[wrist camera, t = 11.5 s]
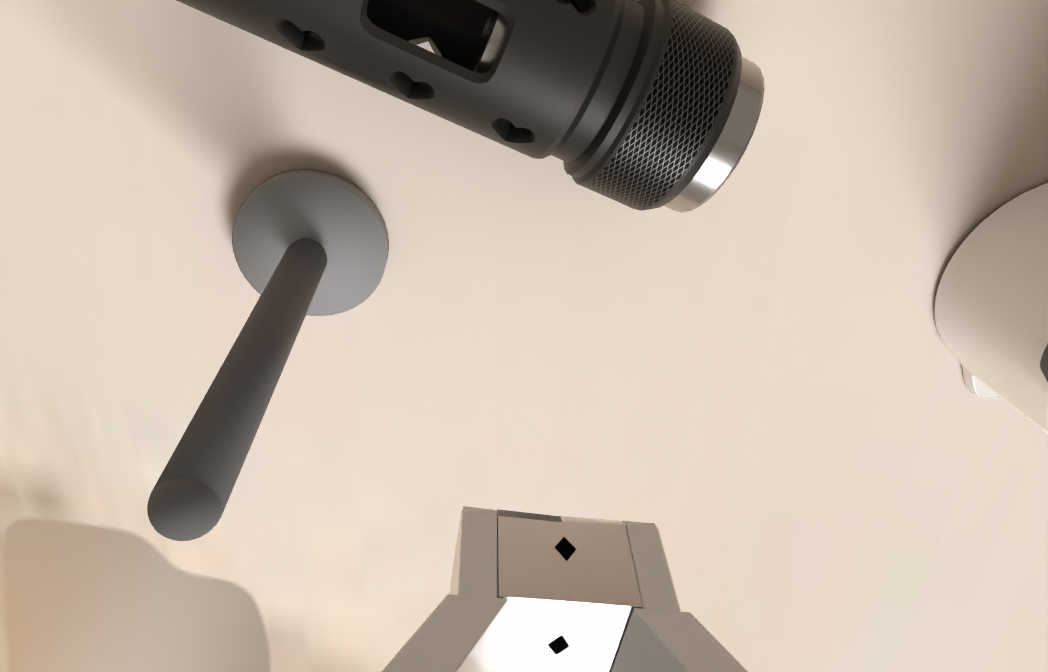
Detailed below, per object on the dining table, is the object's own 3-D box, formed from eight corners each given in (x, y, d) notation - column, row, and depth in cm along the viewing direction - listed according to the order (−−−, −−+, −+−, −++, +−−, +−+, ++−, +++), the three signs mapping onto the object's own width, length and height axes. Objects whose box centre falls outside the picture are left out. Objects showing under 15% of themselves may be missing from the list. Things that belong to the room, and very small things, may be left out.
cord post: (392, 179, 42) (312, 435, 22) (385, 311, 47) (314, 625, 26) (235, 160, 41) (-5, 410, 21) (243, 297, 46) (53, 613, 25)
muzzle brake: (213, -246, 32) (112, -305, 23) (731, 32, 39) (806, 69, 30) (170, -29, 36) (71, -9, 27) (645, 185, 43) (689, 256, 35)
